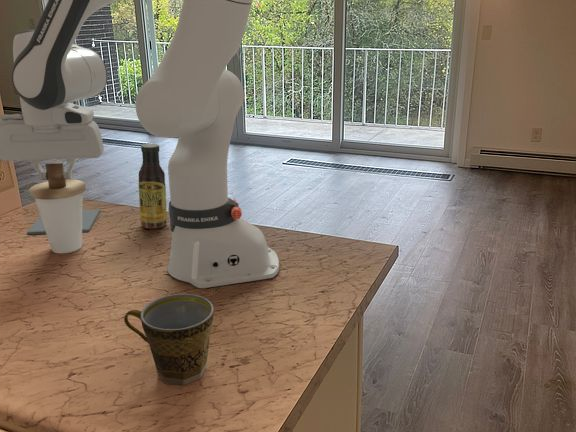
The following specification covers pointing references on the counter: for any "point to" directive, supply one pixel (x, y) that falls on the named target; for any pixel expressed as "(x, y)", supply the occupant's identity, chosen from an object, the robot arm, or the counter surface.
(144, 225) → the sauce bottle
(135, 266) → the counter surface
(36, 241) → the counter surface
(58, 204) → the foam cup
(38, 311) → the counter surface
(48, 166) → the lid
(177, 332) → the ceramic cup
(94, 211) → the mat
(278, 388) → the counter surface
